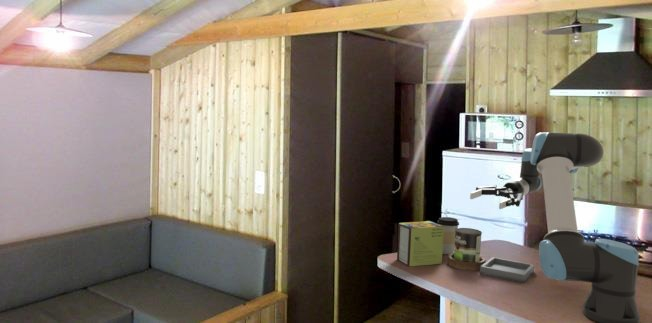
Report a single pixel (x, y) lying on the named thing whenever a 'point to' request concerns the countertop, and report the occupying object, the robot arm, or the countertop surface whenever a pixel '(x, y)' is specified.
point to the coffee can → (467, 244)
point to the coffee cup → (448, 233)
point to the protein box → (420, 243)
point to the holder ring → (465, 263)
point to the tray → (507, 269)
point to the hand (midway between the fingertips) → (485, 200)
